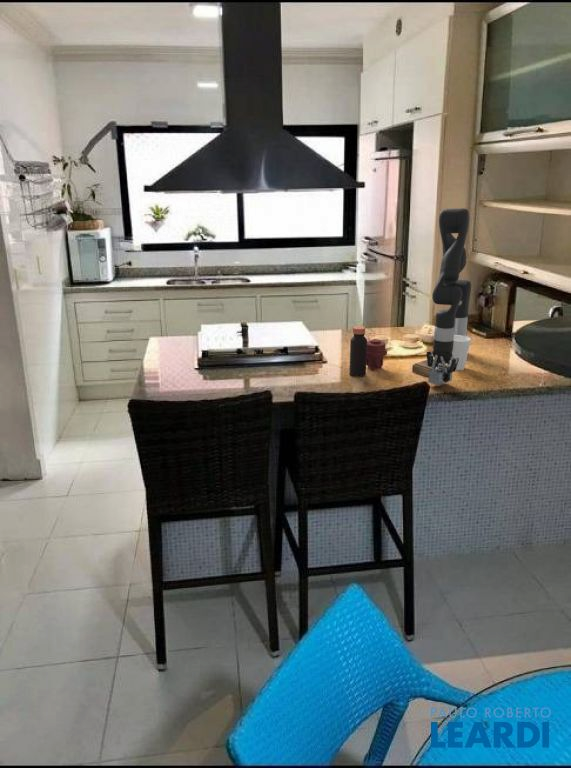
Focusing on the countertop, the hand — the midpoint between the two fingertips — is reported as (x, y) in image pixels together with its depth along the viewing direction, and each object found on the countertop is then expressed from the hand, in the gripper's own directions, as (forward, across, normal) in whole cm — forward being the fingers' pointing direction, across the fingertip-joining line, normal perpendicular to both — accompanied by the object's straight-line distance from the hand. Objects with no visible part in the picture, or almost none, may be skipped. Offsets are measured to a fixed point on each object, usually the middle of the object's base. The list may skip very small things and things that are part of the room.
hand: (440, 379), depth 234 cm
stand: (+3, +13, -10) cm, 16 cm away
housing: (+1, 0, 0) cm, 1 cm away
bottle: (+3, +30, +15) cm, 34 cm away
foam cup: (+3, +9, -23) cm, 24 cm away
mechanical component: (+3, +31, +4) cm, 31 cm away
